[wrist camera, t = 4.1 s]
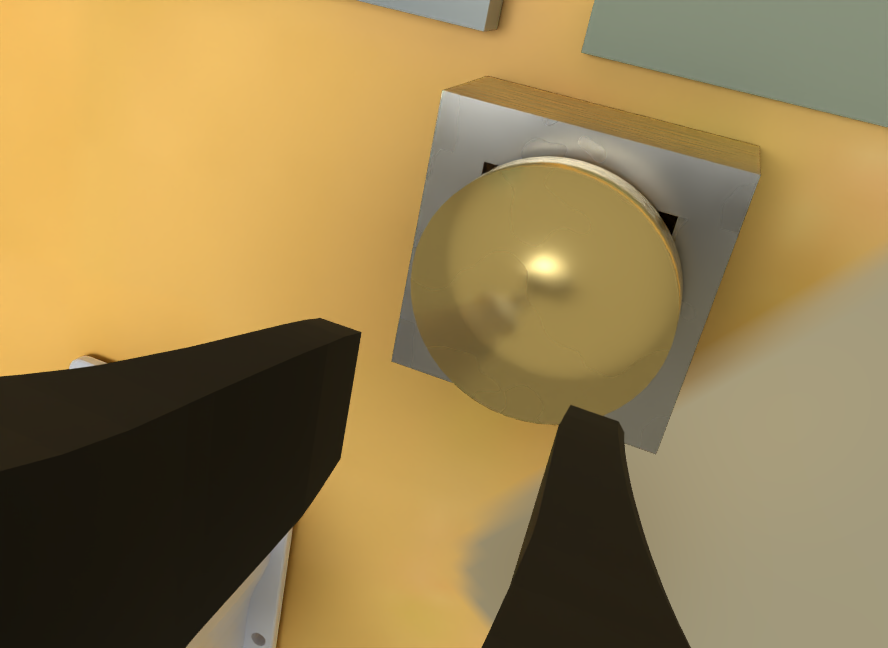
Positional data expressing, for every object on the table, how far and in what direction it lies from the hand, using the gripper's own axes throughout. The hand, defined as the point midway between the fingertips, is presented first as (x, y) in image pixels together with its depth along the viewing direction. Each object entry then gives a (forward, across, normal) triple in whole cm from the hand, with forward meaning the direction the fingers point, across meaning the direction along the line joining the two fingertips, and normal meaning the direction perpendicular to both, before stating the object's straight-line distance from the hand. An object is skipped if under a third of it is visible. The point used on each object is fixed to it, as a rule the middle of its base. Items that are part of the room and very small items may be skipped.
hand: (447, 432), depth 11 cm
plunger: (+9, 0, 0) cm, 9 cm away
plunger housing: (+9, 0, 0) cm, 9 cm away
